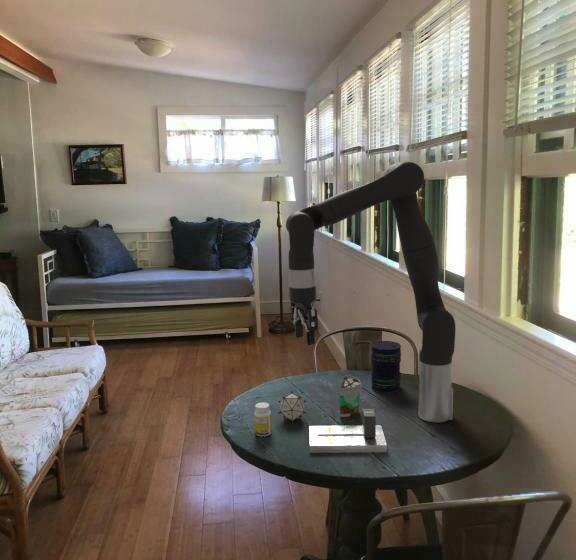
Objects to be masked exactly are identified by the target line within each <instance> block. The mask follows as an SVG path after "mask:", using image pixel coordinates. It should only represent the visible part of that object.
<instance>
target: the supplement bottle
mask: <svg viewBox="0 0 576 560" xmlns="http://www.w3.org/2000/svg"><path fill="white" fill-rule="evenodd" d="M254 407H255V408H254V414H253V417H254V418H253V419H254V433H255V435H256V434H257V435H256V436H258V437H263V436H264V437H267V436H270V435H272V432H273V427H272V412H271V410H270V404H269V403H268V402H258V403H256V404H255V406H254Z"/></svg>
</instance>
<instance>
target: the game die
mask: <svg viewBox="0 0 576 560" xmlns="http://www.w3.org/2000/svg"><path fill="white" fill-rule="evenodd" d="M277 402H278V403H279V412H277V415H280V414H281V415H282V416H283V418H284V419H285V418H287V419H289V420H290V421H291V424H294V421H295V420H297V419H298V418H302V415H303V414H307V411H305V403H306V402H307V400H306V399H305V400H303V399H302V396H301V395H300V396H297V395H296V394H294V392H293V390H291V391H290V394H288V395H287V396H282V400H278V401H277Z"/></svg>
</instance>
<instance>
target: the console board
mask: <svg viewBox="0 0 576 560" xmlns="http://www.w3.org/2000/svg"><path fill="white" fill-rule="evenodd" d="M308 430H309V453H310V454H316V453H317V454H318V453H319V454H320V453H322V454H325V453H326V454H327V453H328V454H330V453H333V454H335V453H338V454H339V453H341V454H342V453H344V454H346V453H348V454H349V453H350V454H351V453H387V452H388V444H387V440H386V438H385V434H384V431H383V428H382V425H381V424H380V425H378V424H377V425H376V438H364V434H363V430H362V424H361V425H356V424H355V425H309V428H308Z"/></svg>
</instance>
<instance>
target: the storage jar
mask: <svg viewBox="0 0 576 560" xmlns="http://www.w3.org/2000/svg"><path fill="white" fill-rule="evenodd" d="M370 345H371V349H370V350H371V351H370V356H371V357H370V359H371V372H370V373H371V374H370V376H371V377H370V381H371V383H370V384H371V387H370V388H371V389H372V391H375V392H377V393H382V394H383V393H384V394H392V393H397V392H399V391H400V390H401V382H402V381H401V380H402V377H401V376H402V374H401V360H402V358H401V357H402V352H401V348H402V347H401V343H399V342H398V341H397V342H396V341H392V340H379V341H378V340H377V341H374V342H372V343H371V344H370Z"/></svg>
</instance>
